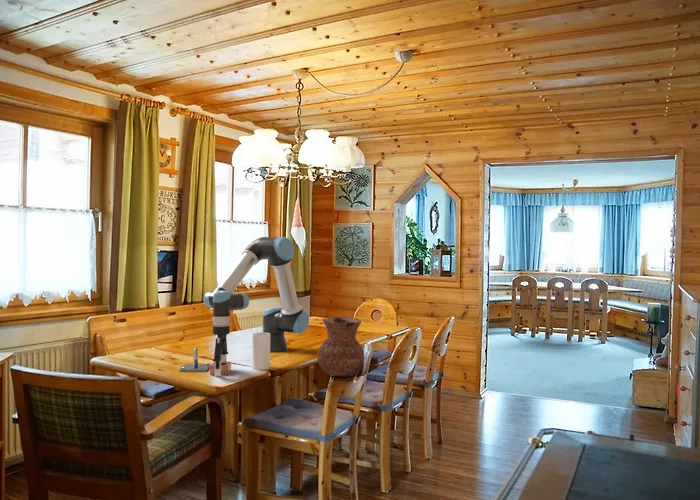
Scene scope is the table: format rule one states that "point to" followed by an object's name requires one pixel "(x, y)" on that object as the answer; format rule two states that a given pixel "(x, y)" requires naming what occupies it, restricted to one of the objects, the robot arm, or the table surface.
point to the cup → (261, 351)
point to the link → (224, 368)
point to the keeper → (195, 365)
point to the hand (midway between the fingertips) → (220, 372)
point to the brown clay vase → (341, 347)
